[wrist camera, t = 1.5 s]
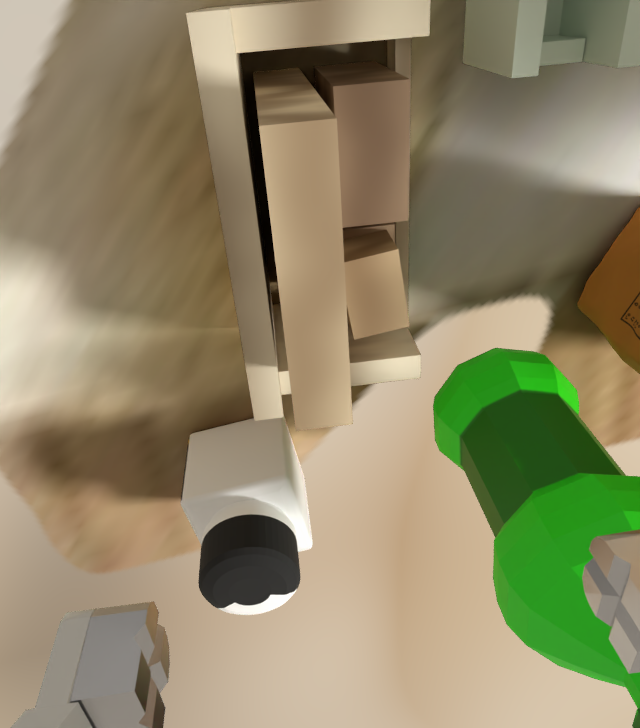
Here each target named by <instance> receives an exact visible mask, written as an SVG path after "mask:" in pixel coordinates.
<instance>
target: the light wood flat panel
mask: <svg viewBox="0 0 640 728" xmlns="http://www.w3.org/2000/svg"><path fill="white" fill-rule="evenodd" d="M253 77H254V86H255V95H256V104H257V113H258V122H259V131H260V139H261V148H262V156H263V164H264V172H265V181H266V189H267V197H268V205H269V214H270V222H271V230H272V238H273V247H274V255H275V263H276V271H277V280H278V288H279V296H280V304H281V313H282V321H283V329H284V337H285V346H286V354H287V362H288V371H289V379H290V387H291V395H292V404H293V412H294V420H295V428H296V431H302V430H310V429H318V428H326V427H334V426H341V425H349V424H353V419H352V399H351V380H350V361H349V342H348V323H347V304H346V285H345V265H344V246H343V227H342V208H341V189H340V170H339V151H338V131H337V118H336V117H335V115H334V114H333V113H332V111H331V110H330V109H329V107H328V106H327V105H326V103H325V102H324V101H323V99H322V98H321V97H320V95H319V94H318V93H317V91H316V90H315V89H314V87H313V86H312V85H311V84H310V82H309V81H308V80H307V78H306V77H305V76H304V74H303V73H302V72H301V70H300V69H299V68H291V69H280V70H270V71H259V72H253Z"/></svg>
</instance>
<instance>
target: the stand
mask: <svg viewBox="0 0 640 728" xmlns="http://www.w3.org/2000/svg"><path fill="white" fill-rule="evenodd" d="M577 62H588V63H593V64H598V65H603V66H608V67H614V68H625V67H635V66H640V0H466V11H465V29H464V47H463V64H467V65H470V66H473V67H476V68H480V69H483V70H486V71H490V72H493V73H496V74H499V75H503V76H506V77H509V78H520V77H530V76H538V74H539V66H545V65H555V64H566V63H577Z"/></svg>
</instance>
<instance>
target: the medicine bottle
mask: <svg viewBox="0 0 640 728" xmlns="http://www.w3.org/2000/svg"><path fill="white" fill-rule="evenodd" d="M283 416H284V415H283ZM181 506H182V508H183V510H184V512H185V514H186V516H187V518H188V520H189V522H190V524H191V526H192V528H193V530H194V532H195V534H196V536H197V537H198V539H199V541H200V543H201V559H200V570H199V588H200V591H201V593H202V595H203V596H204V597H205V598H206V600H208V602H210V603H211V604H212V605H213V606H215V607H216V608H218V609H220V610H222V611H225V612H228V613H232V614H239V615H253V614H259V613H264V612H268V611H271V610H273V609H275V608H277V607H279V606H281V605H282V604H284V603H285V602H286V601H287V600H288V599H290V597H291V596H292V595H293V594H294V593H295V591H296V590H297V588H298V586H299V583H300V569H299V558H298V552H299V551H303V550H307V549H310V548H311V547H312V544H313V542H312V534H311V526H310V518H309V510H308V502H307V494H306V486H305V478H304V475H303V472H302V469H301V466H300V463H299V460H298V457H297V454H296V451H295V448H294V445H293V442H292V438H291V435H290V432H289V429H288V426H287V423H286V420H285V417H282V418H274V419H266V420H258V421H255V420H254V418H252V419H248V420H244V421H240V422H236V423H232V424H228V425H224V426H220V427H216V428H212V429H208V430H204V431H200V432H196V433H192V434H191V435H190V436H189V440H188V448H187V455H186V463H185V471H184V479H183V487H182V495H181Z"/></svg>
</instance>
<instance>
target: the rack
mask: <svg viewBox="0 0 640 728" xmlns="http://www.w3.org/2000/svg"><path fill="white" fill-rule="evenodd" d="M430 1H431V0H293V1H281V2H269V3H258V4H246V5H235V6H223V7H211V8H202V9H199V10H195V11H191V12H188V13H186V17H187V23H188V29H189V35H190V41H191V46H192V52H193V58H194V64H195V70H196V76H197V82H198V88H199V94H200V100H201V106H202V112H203V118H204V124H205V130H206V135H207V141H208V147H209V153H210V159H211V165H212V171H213V177H214V183H215V189H216V195H217V201H218V207H219V213H220V219H221V224H222V230H223V236H224V242H225V248H226V254H227V260H228V266H229V272H230V278H231V284H232V290H233V296H234V302H235V308H236V313H237V319H238V325H239V331H240V337H241V343H242V349H243V355H244V361H245V367H246V373H247V379H248V385H249V391H250V397H251V402H252V408H253V414H254V420H255V421H258V420H266V419H274V418H282V417H284V416H283V405H282V395H285V394H291V387H290V379H289V371H288V362H287V354H286V346H285V337H284V329H283V321H282V313H281V304H275V305H272V297H271V290H270V282H269V274H268V266H267V259H266V251H265V243H264V236H263V228H262V220H261V212H260V205H259V197H258V189H257V182H256V174H255V166H254V158H253V151H252V143H251V135H250V127H249V120H248V112H247V104H246V97H245V89H244V81H243V73H242V66H241V58H240V53H244V52H255V51H267V50H278V49H289V48H300V47H311V46H322V45H333V44H344V43H355V42H366V41H377V40H387V68H389V69H391V70H393V71H395V72H397V73H399V74H401V75H403V76H405V77H407V78H409V79H410V123H411V41H412V37H421V36H430ZM409 206H410V130H409ZM393 223H394V224H395V244H396V246H397V248H398V250H399V257H400V263H401V270H402V277H403V284H404V290H405V297H406V304H407V311H408V288H409V218H408V221H401V222H393ZM347 323H348V342H349V361H350V380H351V386H359V385H367V384H375V383H382V382H391V381H399V380H407V379H416V378H420V375H421V374H420V373H421V354H420V352H419V350H418V348H417V346H416V344H415V342H414V340H413V338H412V336H411V334H410V331H409V329H408V327H405V328H401V329H397V330H392V331H388V332H384V333H380V334H376V335H372V336H368V337H364V338H359V339H355V340H354V337H353V334H352V331H351V328H350V325H349V322H348V318H347Z"/></svg>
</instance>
